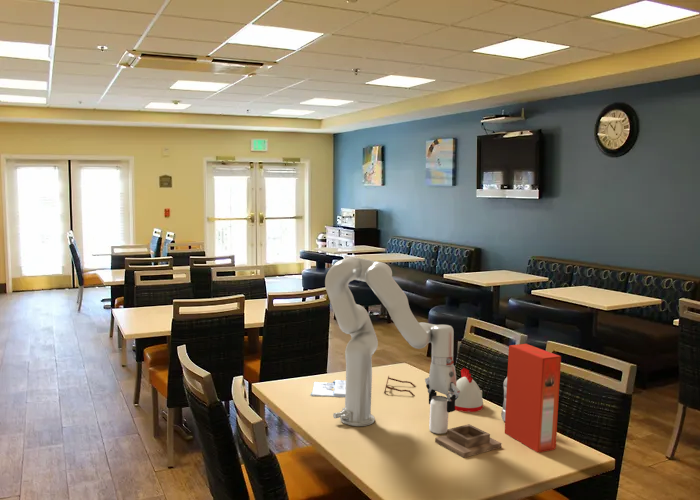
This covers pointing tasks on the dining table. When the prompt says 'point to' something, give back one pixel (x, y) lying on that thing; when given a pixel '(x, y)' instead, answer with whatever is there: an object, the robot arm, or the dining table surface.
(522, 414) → the file binder
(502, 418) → the plastic bottle
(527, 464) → the dining table surface
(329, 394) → the open book
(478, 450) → the caddy
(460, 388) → the kitchen timer
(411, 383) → the glasses
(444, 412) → the can
